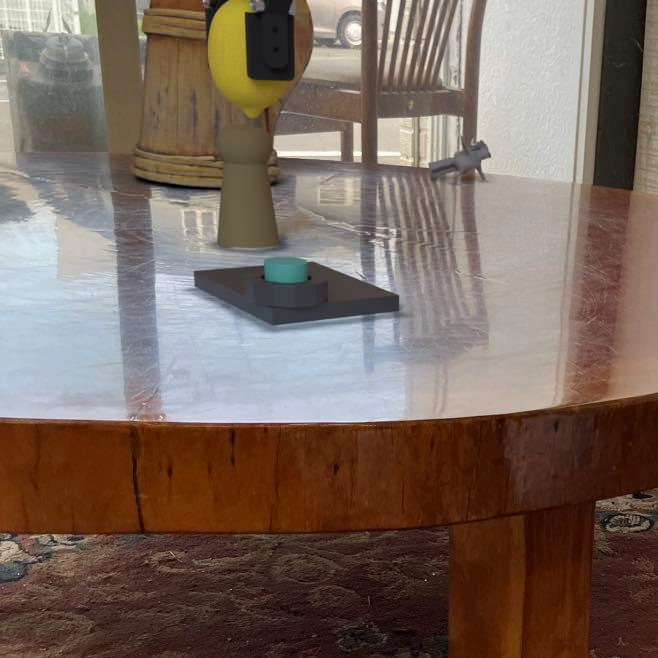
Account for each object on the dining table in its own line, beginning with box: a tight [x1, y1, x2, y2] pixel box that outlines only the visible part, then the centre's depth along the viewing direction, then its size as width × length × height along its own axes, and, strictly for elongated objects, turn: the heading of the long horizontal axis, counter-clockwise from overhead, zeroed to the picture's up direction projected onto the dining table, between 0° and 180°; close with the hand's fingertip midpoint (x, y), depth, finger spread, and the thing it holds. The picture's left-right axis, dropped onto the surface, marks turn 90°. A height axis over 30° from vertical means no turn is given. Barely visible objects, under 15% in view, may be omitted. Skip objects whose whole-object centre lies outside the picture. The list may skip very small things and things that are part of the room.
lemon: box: [208, 0, 289, 118], centre depth 76 cm, size 6×6×8 cm
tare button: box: [263, 256, 309, 283], centre depth 84 cm, size 3×3×2 cm
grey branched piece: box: [427, 134, 492, 183], centre depth 161 cm, size 10×6×9 cm
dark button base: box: [193, 261, 400, 327], centre depth 89 cm, size 12×14×3 cm
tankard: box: [130, 0, 315, 189], centre depth 142 cm, size 18×24×25 cm
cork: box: [216, 125, 281, 249], centre depth 108 cm, size 6×6×11 cm
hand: (250, 73), depth 76 cm, fingers closed on lemon, 5 cm apart
